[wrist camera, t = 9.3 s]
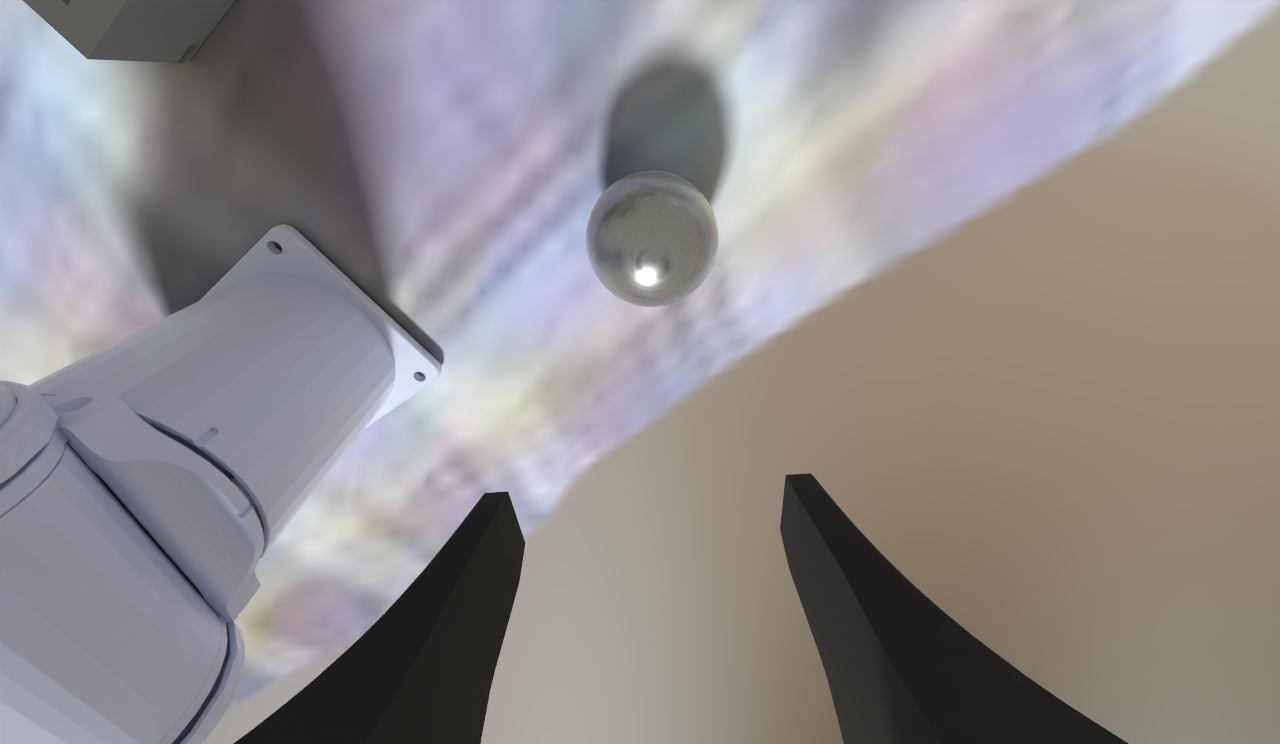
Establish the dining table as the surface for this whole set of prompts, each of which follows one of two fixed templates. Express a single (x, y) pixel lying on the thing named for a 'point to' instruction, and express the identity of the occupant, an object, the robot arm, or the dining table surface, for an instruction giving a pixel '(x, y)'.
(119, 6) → the bin
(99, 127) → the dining table surface
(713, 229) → the steel ball
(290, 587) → the dining table surface
